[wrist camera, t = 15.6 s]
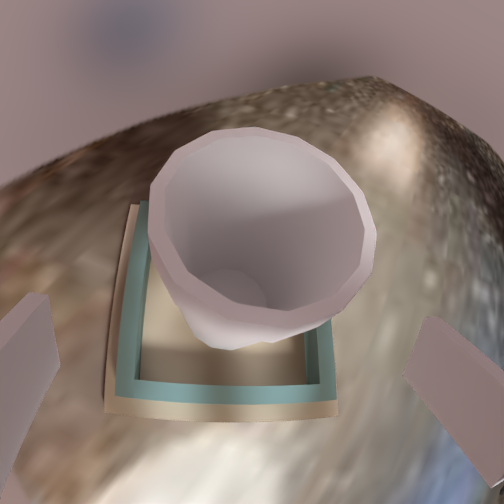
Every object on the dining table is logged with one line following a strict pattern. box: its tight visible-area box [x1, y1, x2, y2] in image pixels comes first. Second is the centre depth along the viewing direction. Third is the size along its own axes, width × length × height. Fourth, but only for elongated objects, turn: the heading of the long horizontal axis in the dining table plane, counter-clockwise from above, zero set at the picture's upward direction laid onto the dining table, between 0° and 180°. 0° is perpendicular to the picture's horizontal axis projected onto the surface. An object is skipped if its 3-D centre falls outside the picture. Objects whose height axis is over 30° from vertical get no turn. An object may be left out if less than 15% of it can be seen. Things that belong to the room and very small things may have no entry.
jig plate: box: [104, 200, 338, 422], centre depth 23 cm, size 17×17×4 cm
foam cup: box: [148, 127, 377, 350], centre depth 18 cm, size 10×9×13 cm
